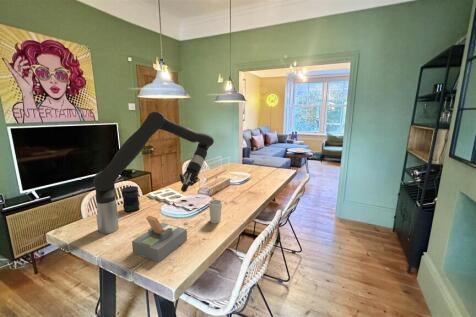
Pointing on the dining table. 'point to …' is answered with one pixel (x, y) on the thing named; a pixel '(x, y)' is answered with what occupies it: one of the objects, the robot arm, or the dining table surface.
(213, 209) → the cup
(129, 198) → the storage jar
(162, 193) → the holder
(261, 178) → the dining table surface
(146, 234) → the box
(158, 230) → the handle
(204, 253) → the dining table surface
